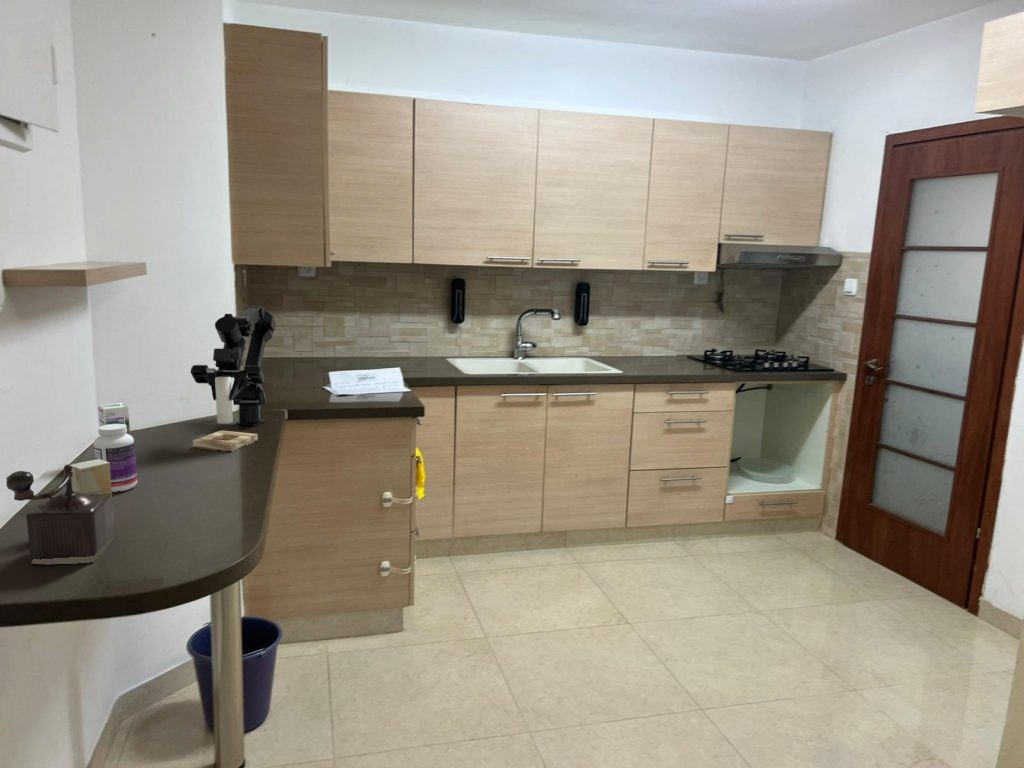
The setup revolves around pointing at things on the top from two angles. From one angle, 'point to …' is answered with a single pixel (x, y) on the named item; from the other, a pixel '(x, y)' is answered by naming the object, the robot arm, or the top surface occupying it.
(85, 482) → the skincare box
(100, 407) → the syrup box
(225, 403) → the peg
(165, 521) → the top surface
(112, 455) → the pill bottle
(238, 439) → the socket block
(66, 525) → the manual coffee grinder
